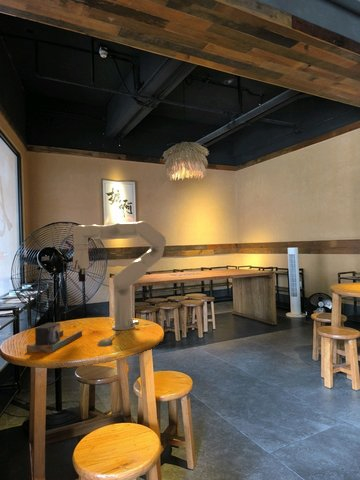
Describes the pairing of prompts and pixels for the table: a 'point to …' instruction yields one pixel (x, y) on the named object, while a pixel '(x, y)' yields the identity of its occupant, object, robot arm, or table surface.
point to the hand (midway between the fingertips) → (82, 281)
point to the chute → (53, 347)
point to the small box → (47, 334)
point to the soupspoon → (106, 341)
